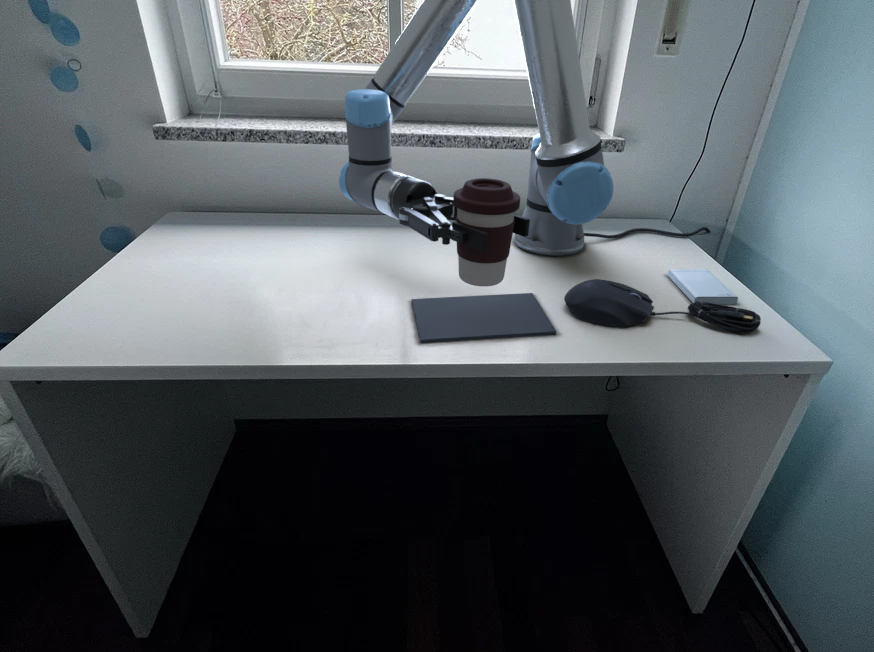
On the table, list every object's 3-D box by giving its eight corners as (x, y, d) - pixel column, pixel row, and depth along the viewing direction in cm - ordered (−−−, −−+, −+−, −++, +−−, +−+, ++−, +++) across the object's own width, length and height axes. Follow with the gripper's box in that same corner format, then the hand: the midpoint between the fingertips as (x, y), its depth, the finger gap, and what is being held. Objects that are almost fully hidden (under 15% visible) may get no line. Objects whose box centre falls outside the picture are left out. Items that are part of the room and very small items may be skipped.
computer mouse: (562, 298, 99) (566, 270, 96) (746, 313, 96) (756, 285, 93) (563, 323, 91) (568, 293, 88) (764, 341, 88) (775, 311, 85)
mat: (532, 295, 100) (532, 292, 99) (556, 334, 88) (556, 331, 88) (411, 302, 96) (411, 298, 96) (420, 343, 85) (420, 339, 84)
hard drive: (739, 296, 98) (708, 268, 109) (695, 296, 98) (668, 268, 108) (736, 304, 99) (706, 275, 110) (692, 305, 99) (666, 276, 109)
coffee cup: (509, 294, 83) (519, 196, 75) (445, 287, 84) (448, 189, 76) (514, 269, 92) (523, 178, 83) (456, 263, 93) (459, 172, 84)
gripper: (451, 208, 102) (548, 242, 90) (357, 234, 89) (455, 278, 76) (452, 167, 98) (553, 196, 85) (354, 188, 85) (457, 226, 72)
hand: (507, 235), depth 81 cm, fingers closed on coffee cup, 9 cm apart
